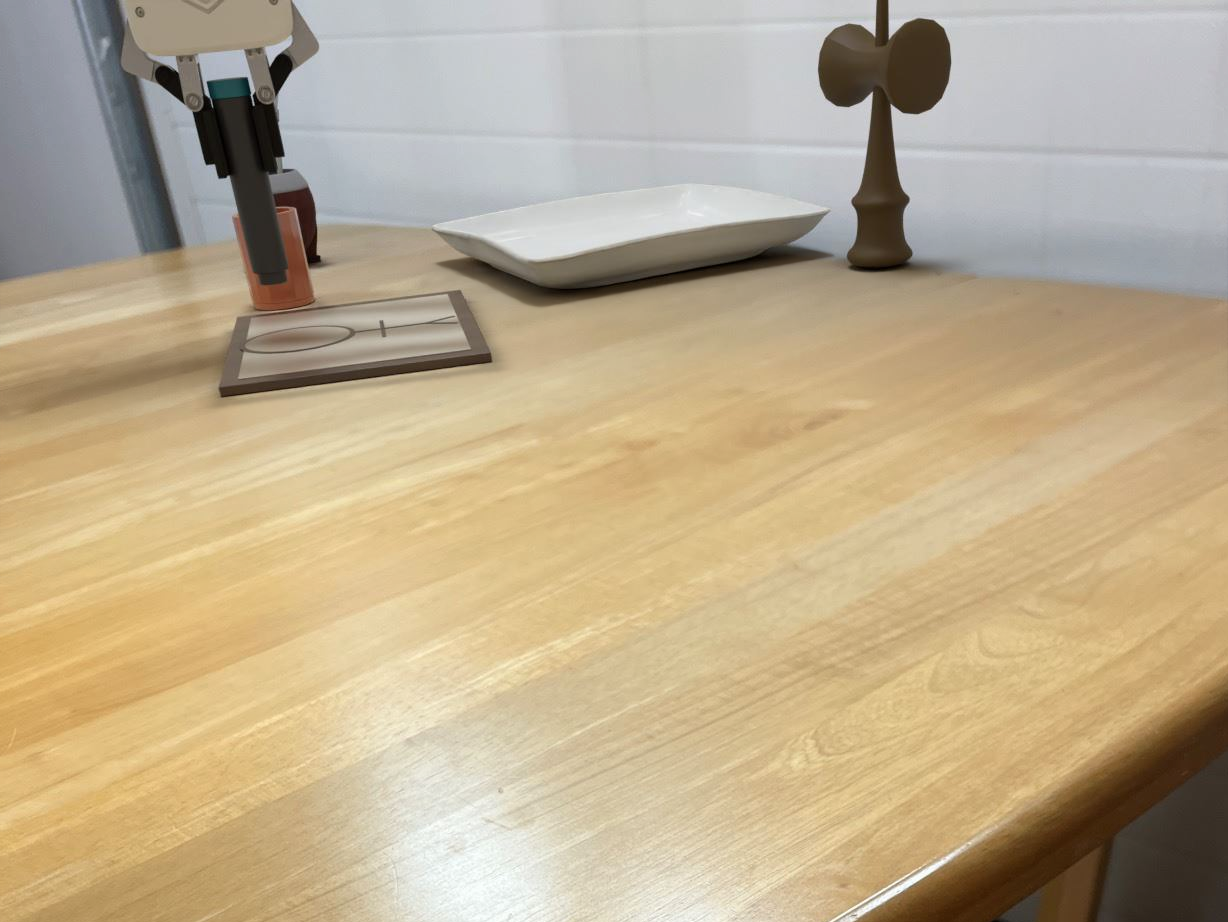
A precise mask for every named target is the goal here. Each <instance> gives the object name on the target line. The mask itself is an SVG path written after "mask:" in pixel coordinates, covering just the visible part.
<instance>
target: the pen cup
mask: <svg viewBox="0 0 1228 922" xmlns="http://www.w3.org/2000/svg"><path fill="white" fill-rule="evenodd" d="M276 211H277V215H278V220H279V224H280V229H281V233H282V238H283V242H284V247H285V251H286V256H287V260H288V265H289V269H287V270H285V271H286V275H287V282H285V283H281V284H276V285H260V284H259V280H258V276H257V274H254V273H252V269H251V265H250V261H249V257H248V252H247V248H246V244H245V240H244V236H243V231H242V227H241V223H240V219H239V214H238V212H237V213H234V214H232V215H231V219H232V223H233V228H234V232H235V235H236V240H237V244H238V249H239V253H240V257H241V261H242V265H243V270H244V274H245V278H246V282H247V287H248V291H249V294H250V299H251V302H252V305H253V308H254V309H256V310H260V311H279V310H280V311H281V310H286V309H287V310H288V309H293V308H298V307H303V306H307V305H309V304H311V303H313V302H314V301H316V299H315V294H314V293H315V292H314V286H313V282H312V278H311V277H312V276H311V274H310V268H309V263H307V258H306V253H305V249H304V244H303V239H302V234H301V230H300V225H299V220H298V216H297V211H296V208H294V207H276Z"/></svg>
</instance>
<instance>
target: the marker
mask: <svg viewBox="0 0 1228 922" xmlns="http://www.w3.org/2000/svg"><path fill="white" fill-rule="evenodd" d="M206 86H207V90H208V91H207V92H208V95H209V98H210V99H211V104H212V107H213V109H214V111H215V115H216V119H217V123H218V127H219V132H220V136H221V140H222V144H223V149H224V153H225V157H226V161H227V166H228V170H229V174H230V175H229V176H228V177H229V181H230V185H231V189H232V194H233V197H234V201H235V205H236V210H237V213H238V214H239V219H240V223H241V227H242V231H243V236H244V240H245V244H246V248H247V252H248V257H249V261H250V265H251V269H252V273H254V274H257V276H258V280H259V284H260V285H276V284H281V283H285V282H287V275H286V271H285V270H287V269H289V265H288V260H287V256H286V251H285V247H284V242H283V238H282V233H281V229H280V224H279V220H278V215H277V211H276V206H275V202H274V197H273V193H272V188H271V184H270V179H269V174H268V172H266V171H265V167H264V163H263V158H262V154H261V149H260V145H259V140H258V136H257V131H256V127H255V122H254V118H253V113H252V107H253V106H254V101H253V97H252V90H251V85H250V80H249V78H248V76H235V77H225V78H217V79H211V80H210V79H209V80H206Z"/></svg>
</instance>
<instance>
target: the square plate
mask: <svg viewBox="0 0 1228 922" xmlns="http://www.w3.org/2000/svg"><path fill="white" fill-rule="evenodd" d="M831 211H832V210H831V209H830V208H829V207H826V206H823V205H818V204H814V203H810V202H806V201H802V200H798V199H795V198H791V197H787V196H783V195H779V194H775V193H770V192H765V191H760V190H755V189H751V188H744V187H737V186H728V185H718V184H717V185H715V184H705V183H697V182H696V183H695V182H694V183H693V182H688V183H680V184H674V185H665V186H658V187H650V188H649V187H648V188H639V189H631V190H624V191H616V192H615V191H614V192H605V193H598V194H591V195H583V196H576V197H570V198H563V199H557V200H552V201H546V202H541V203H535V204H530V205H529V204H528V205H524V206H521V207H520V206H519V207H514V208H509V209H504V210H500V211H499V210H498V211H494V212H489V213H485V214H480V215H473V216H471V217H469V216H468V217H464V218H460V219H455V220H449V221H444V222H438V223H435V224H433V225H431V231H433V232H435V234H437V235H438V236H439V237H440V238H441V239H442V240H443V241H444V242H445V243H446V244H447V245H449V246H450V247H452V248H453V249H454V250H456V251H457V252H459V253H461V254H463V255H465V256H468V257H470V258H473V259H476V260H479V261H481V262H484V263H486V264H488V265H489V266H491V267H492V268H494V269H497V270H499V271H501V272H504V273H506V274H509V275H512V276H515V277H517V278H520V279H522V280H524V281H527V282H529V283H531V284H534V285H537V286H539V287H542V288H548V289H560V290H569V289H572V290H573V289H588V288H595V287H602V286H603V287H604V286H609V285H614V284H619V283H624V282H630V281H631V282H632V281H635V280H641V279H644V278H649V277H656V276H660V275H661V276H662V275H666V274H671V273H672V274H673V273H677V272H682V271H688V270H692V269H698V268H703V267H708V266H709V267H710V266H715V265H721V264H726V263H733V262H738V261H741V260H746V259H749V258H753V257H756V256H759V255H760V254H762V253H764V252H765V251H766V250H767V249H771V248H777V247H782V246H784V245H787V244H790V243H793V242H795V241H797V240H799V239H801V238H803V237H805V236H806V235H808V234H809V233H810V232H812V231H813V230H814V229H815V228H816V226H818V224H819V223H820V222H821V221H822V220H823V219H824V217H825V216H827V215H828V214H829V213H830V212H831Z"/></svg>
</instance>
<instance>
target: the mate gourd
mask: <svg viewBox="0 0 1228 922" xmlns="http://www.w3.org/2000/svg"><path fill="white" fill-rule="evenodd" d="M279 93H280V92H279ZM279 93H278V94H277V96H276V98H275V99H274V106H275V110H276V115H277V120H278V123H279V122H280V111H279V109H278V102H279ZM276 161H277V166H278V170H277V173H269V172H268V174H269V179H270V184H271V188H272V193H273V197H274V202H275V206H276V207H294V208H296V211H297V216H298V220H299V225H300V230H301V234H302V239H303V244H304V249H305V253H306V258H307V263H308V264H310V263H317V262H321V261H322V257H321V255H320V254H318V225H317V210H316V201H315V199H314V196H313V193H312V190H311V189H310V187H309V182H308V181H307V180H306V178H305V177H304V176H303V175H302V174H301V172H300V171H299V170H297V169H296V168H284V167H283V157H279V158H276Z"/></svg>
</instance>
